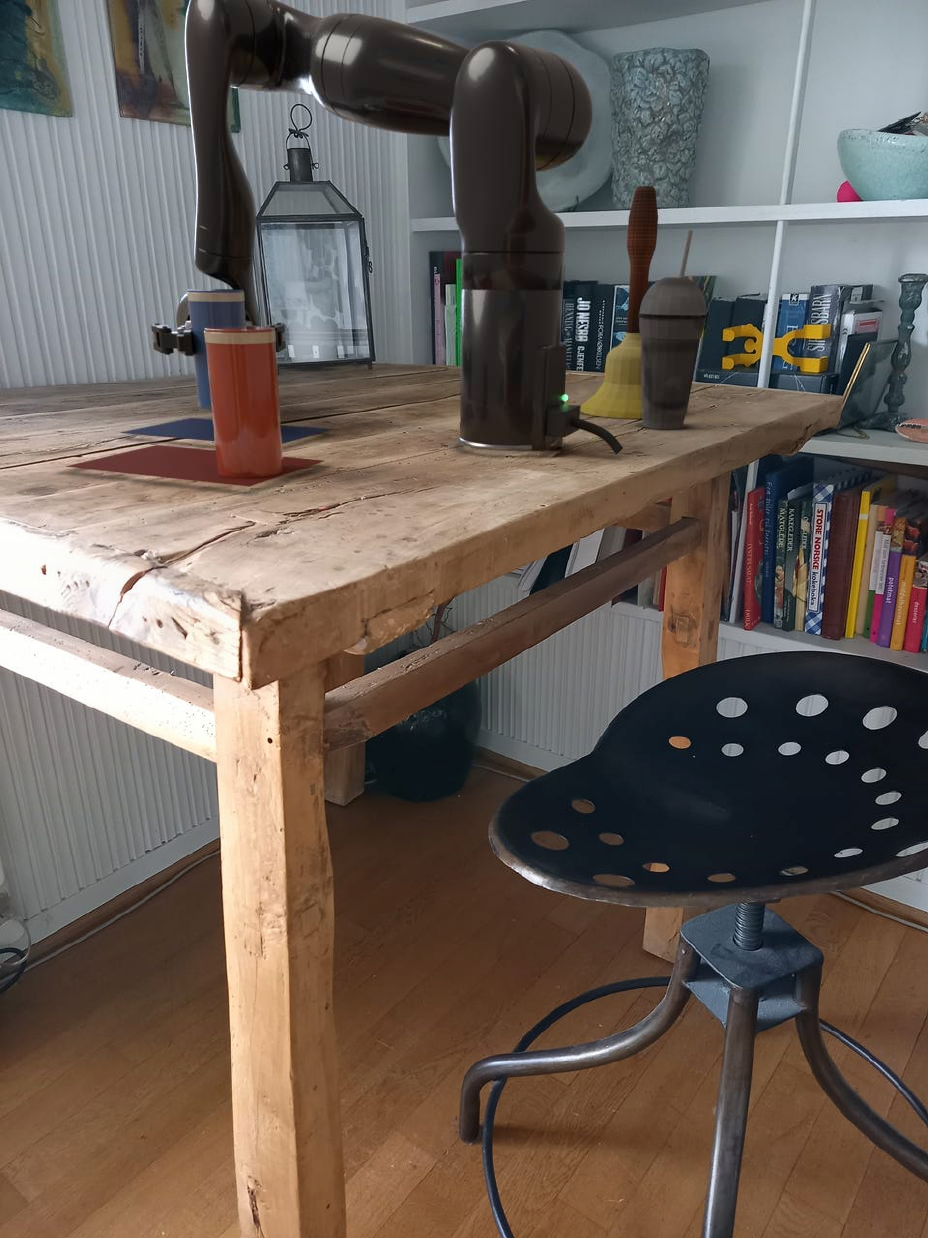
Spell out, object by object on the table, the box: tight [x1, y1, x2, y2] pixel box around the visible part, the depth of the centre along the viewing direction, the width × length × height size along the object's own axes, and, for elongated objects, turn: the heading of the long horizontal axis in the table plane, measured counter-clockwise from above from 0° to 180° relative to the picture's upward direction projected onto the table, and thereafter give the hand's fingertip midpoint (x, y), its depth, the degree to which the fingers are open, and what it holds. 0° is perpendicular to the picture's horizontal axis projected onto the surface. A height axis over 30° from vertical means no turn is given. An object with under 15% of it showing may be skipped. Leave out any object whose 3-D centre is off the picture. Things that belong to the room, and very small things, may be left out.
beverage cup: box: [638, 229, 708, 430], centre depth 96 cm, size 7×7×20 cm
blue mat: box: [119, 417, 334, 445], centre depth 91 cm, size 18×11×1 cm, turn 67°
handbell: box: [580, 185, 659, 420], centre depth 106 cm, size 12×12×25 cm
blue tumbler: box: [186, 288, 246, 411], centre depth 89 cm, size 5×5×11 cm
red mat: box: [65, 444, 325, 487], centre depth 76 cm, size 18×11×1 cm, turn 67°
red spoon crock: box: [204, 326, 284, 478], centre depth 71 cm, size 5×5×11 cm
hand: (220, 343), depth 86 cm, fingers closed on blue tumbler, 5 cm apart
